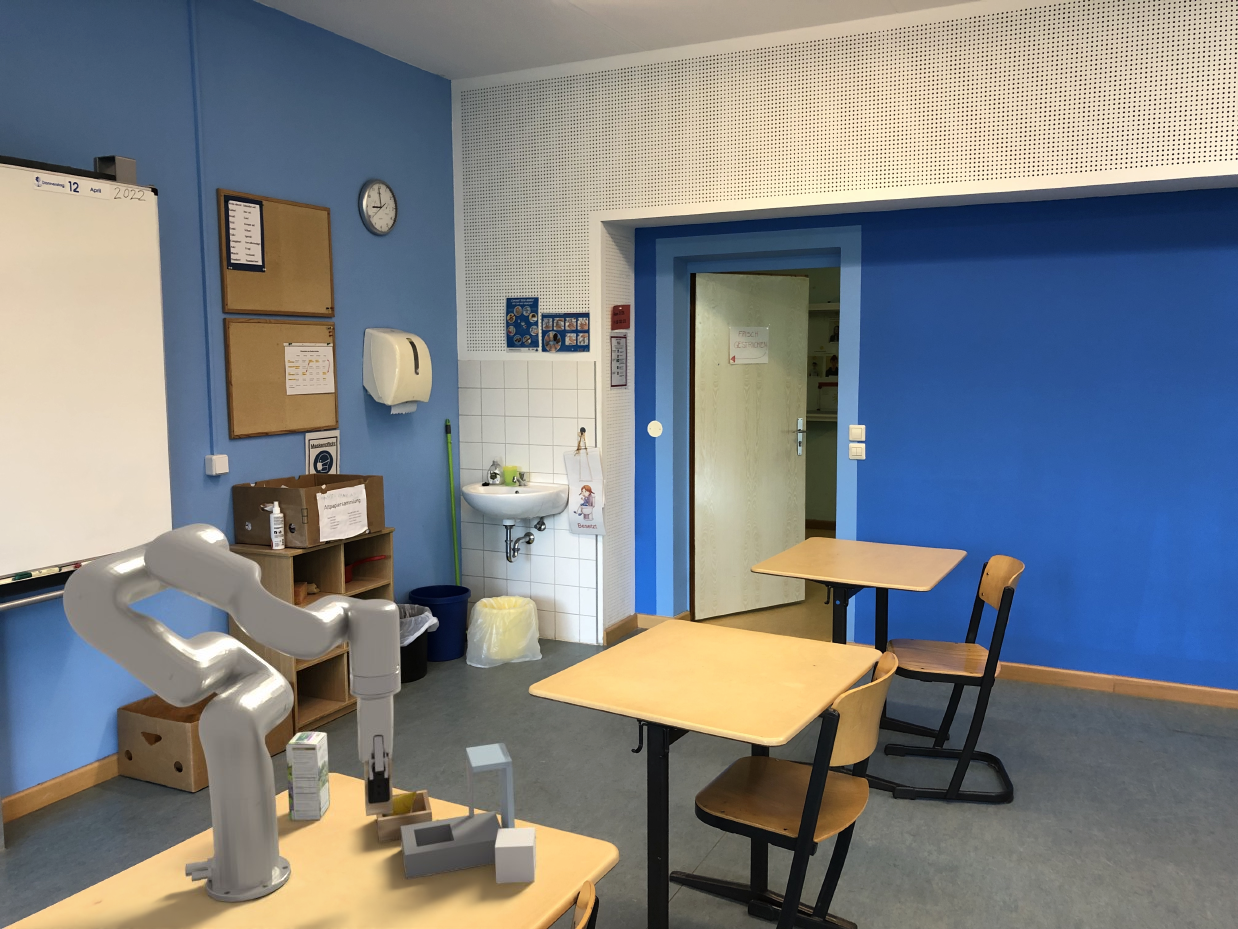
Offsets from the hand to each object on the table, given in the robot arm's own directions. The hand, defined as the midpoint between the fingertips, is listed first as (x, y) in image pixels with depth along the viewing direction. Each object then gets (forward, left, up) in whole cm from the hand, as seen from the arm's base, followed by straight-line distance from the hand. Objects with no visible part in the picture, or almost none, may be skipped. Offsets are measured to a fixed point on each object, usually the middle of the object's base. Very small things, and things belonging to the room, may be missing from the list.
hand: (378, 794), depth 146 cm
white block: (+21, -3, -15) cm, 26 cm away
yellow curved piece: (+5, +19, -15) cm, 24 cm away
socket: (+12, +6, -15) cm, 20 cm away
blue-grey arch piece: (+18, +7, -15) cm, 25 cm away
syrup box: (-11, +30, -15) cm, 35 cm away
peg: (0, 0, -2) cm, 2 cm away
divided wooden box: (+5, +19, -15) cm, 24 cm away
